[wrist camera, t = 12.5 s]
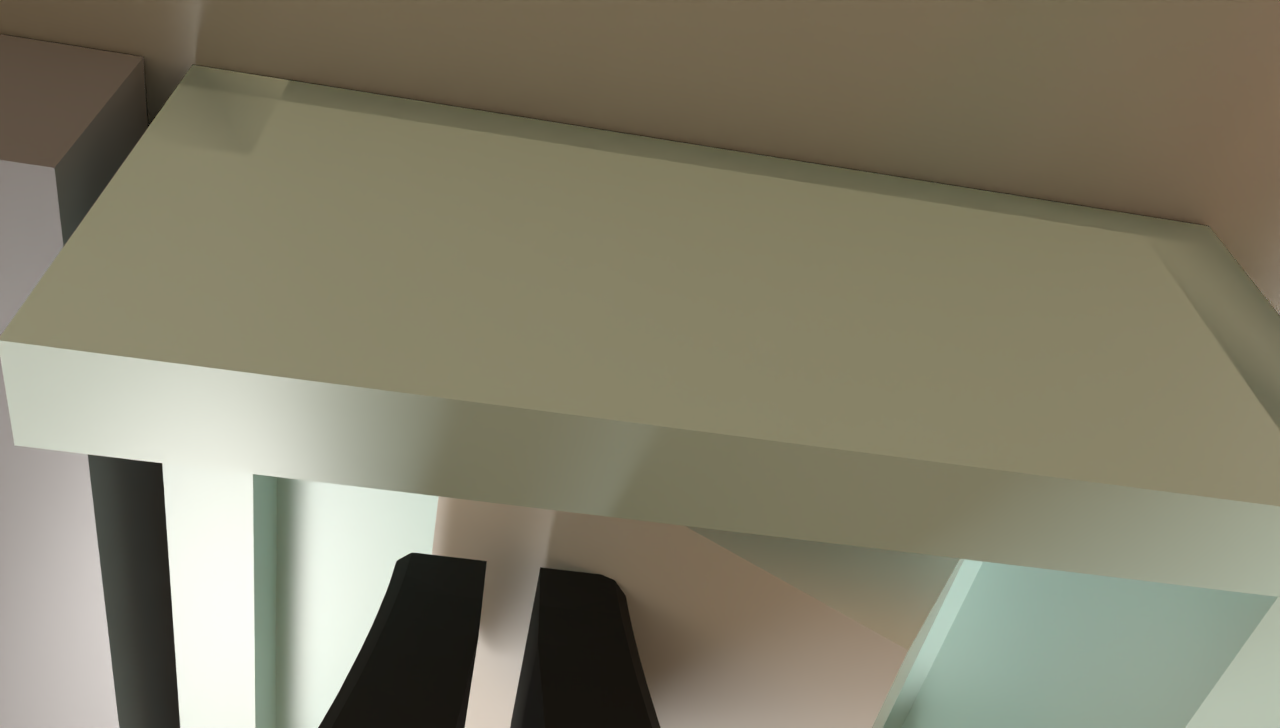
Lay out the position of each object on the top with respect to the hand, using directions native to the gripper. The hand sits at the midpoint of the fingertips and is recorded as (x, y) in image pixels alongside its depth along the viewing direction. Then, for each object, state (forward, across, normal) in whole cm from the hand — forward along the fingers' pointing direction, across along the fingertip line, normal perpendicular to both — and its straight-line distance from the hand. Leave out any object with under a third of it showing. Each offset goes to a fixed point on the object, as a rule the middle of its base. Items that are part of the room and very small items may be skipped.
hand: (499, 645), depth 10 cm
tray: (+3, -1, +4) cm, 5 cm away
